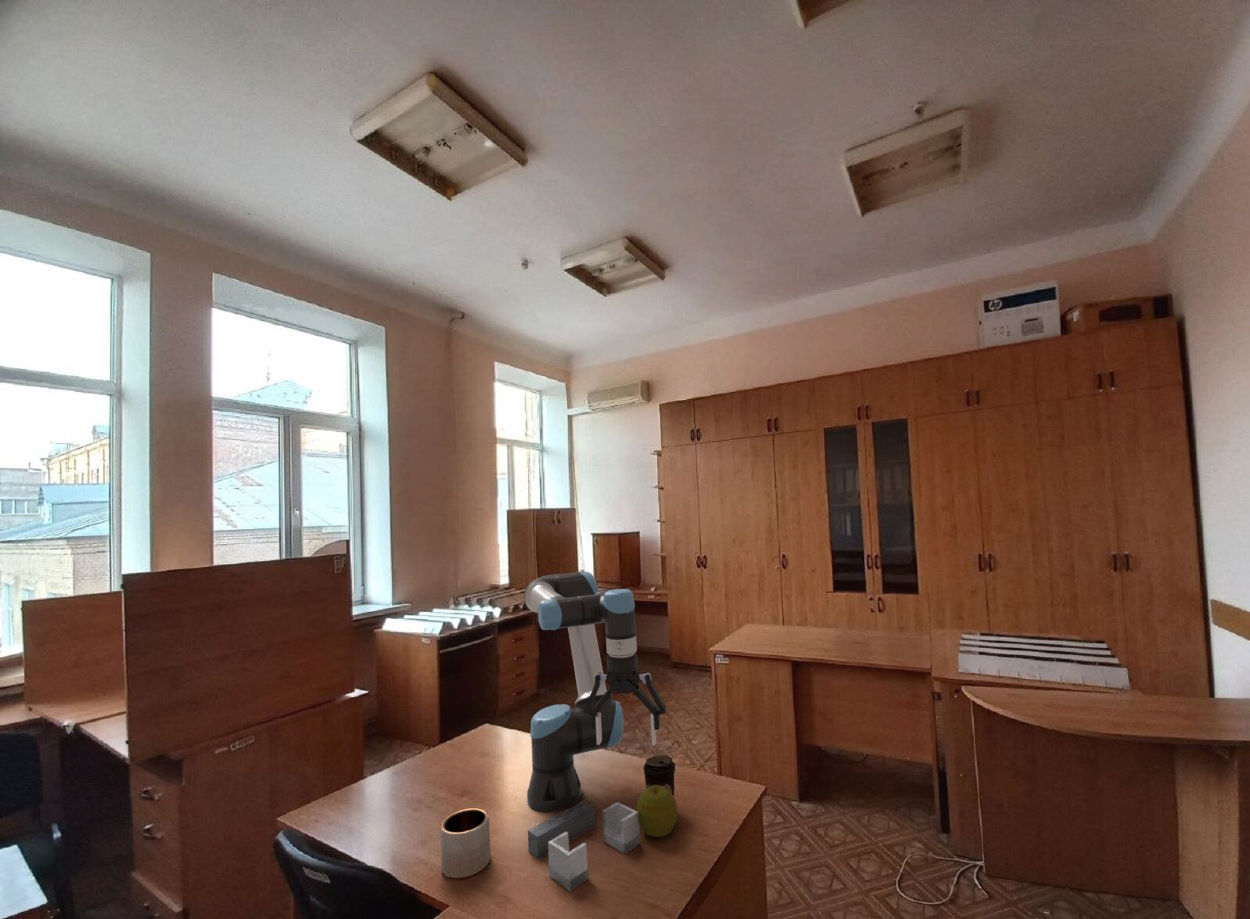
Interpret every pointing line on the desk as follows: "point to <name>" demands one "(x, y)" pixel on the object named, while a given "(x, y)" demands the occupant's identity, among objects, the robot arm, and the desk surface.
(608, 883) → the desk surface
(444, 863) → the planter
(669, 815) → the apple
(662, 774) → the coffee cup
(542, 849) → the rail
